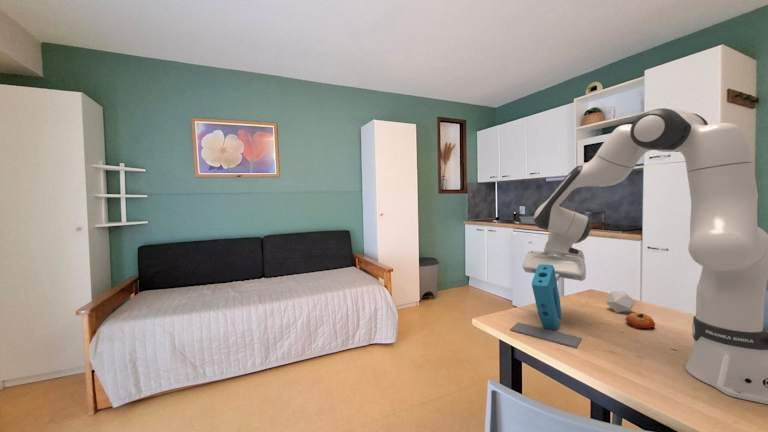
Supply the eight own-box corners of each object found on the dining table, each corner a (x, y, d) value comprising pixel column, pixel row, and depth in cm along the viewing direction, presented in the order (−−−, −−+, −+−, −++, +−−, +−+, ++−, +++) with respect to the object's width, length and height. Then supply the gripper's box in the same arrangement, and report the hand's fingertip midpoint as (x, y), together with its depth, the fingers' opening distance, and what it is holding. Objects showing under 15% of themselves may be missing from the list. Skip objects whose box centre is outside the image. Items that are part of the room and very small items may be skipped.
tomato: (620, 321, 108) (628, 304, 110) (623, 329, 112) (630, 313, 114) (649, 332, 102) (657, 314, 104) (650, 340, 106) (658, 322, 107)
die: (635, 318, 116) (642, 296, 118) (613, 306, 117) (620, 284, 120) (619, 318, 123) (626, 297, 126) (599, 307, 125) (606, 286, 127)
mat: (581, 339, 99) (581, 337, 99) (576, 348, 93) (576, 346, 93) (517, 323, 112) (517, 322, 112) (510, 330, 106) (510, 329, 106)
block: (547, 308, 116) (538, 264, 109) (562, 310, 112) (554, 265, 106) (541, 330, 107) (530, 284, 101) (557, 333, 104) (547, 286, 98)
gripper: (525, 245, 120) (516, 274, 113) (587, 251, 106) (580, 285, 99) (529, 255, 123) (520, 284, 116) (589, 262, 109) (583, 295, 103)
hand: (548, 284), depth 108 cm, fingers closed, pressing on block
